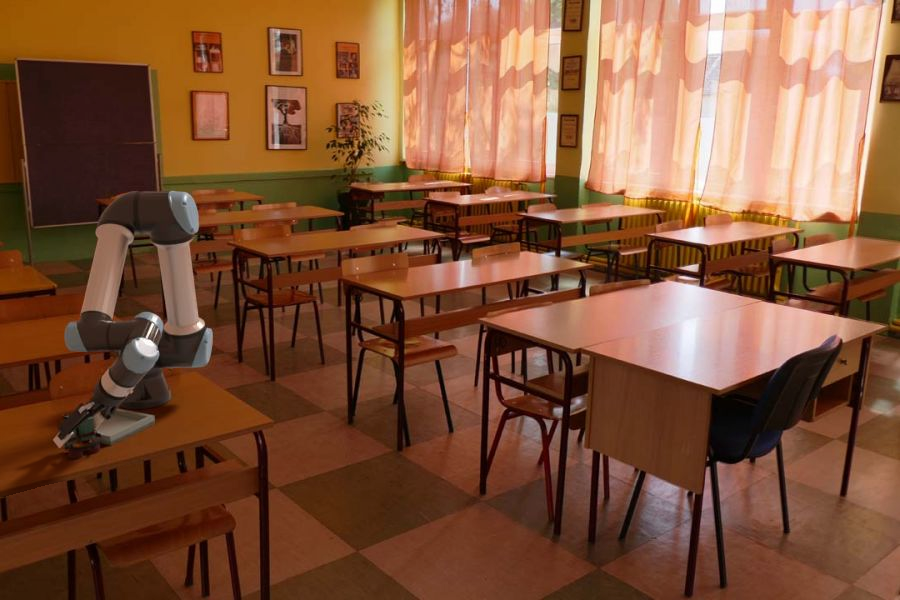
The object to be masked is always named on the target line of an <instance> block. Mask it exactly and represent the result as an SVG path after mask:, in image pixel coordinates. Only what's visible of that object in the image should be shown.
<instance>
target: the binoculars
mask: <svg viewBox="0 0 900 600" xmlns="http://www.w3.org/2000/svg"><path fill="white" fill-rule="evenodd" d="M70 415H71V414H64V413H63V414H62V415H61V416H62V419H61V420H63V421H64V420H65V419H67V418H68V417H69V416H70ZM95 431H96V430H94V428H93V421H92V417H90V418H88V419H87V420H86V421H85V422H84V423H82V424H81V425H80V426H79V427H78V428H76V429H75V430H74V431H73V434H72V436H71V437H70V438H69V439H68V440H67V442H66V443H65V444H64V445H63V446H62V453H64V454H67V453H68V457H69V458H70V459H80V458H82V457H83V454H84V451H86V452H87V453H88V454H94V453H98V452H99V451H100V450H101V445H100V444H101V443H100V442H101V441H102V436H101V434H100V433H97V431H96V432H95ZM94 437H95V438H97V437H100V439H99V440H98V441H96V442H93V441H90V439H92V438H94ZM78 441H79V443H80V446H74V445H75V444H77V442H78Z"/></svg>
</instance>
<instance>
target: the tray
mask: <svg viewBox="0 0 900 600" xmlns="http://www.w3.org/2000/svg"><path fill="white" fill-rule="evenodd" d="M110 416H111V418H110V419H109V420H107V419H106V418H104V421H103V422H102V423H101V424H100V425H99V426H98V428H97V429H96V431H97V433H100V434H101V436H102V441H101V442H100V443H99V444H103V445H107V446H113V445H115V444H117V443H119V442H122V441H123V440H125V439H127V438H130V437H132V436H134V435H135V434H137V433H139V432H142V431H143V430H145V429H146V430H147V428H150V427H152V426H154V425H156V418H155V416H156V415H153V414H148V413H144V412H138V411H133V410H129V409H127V410H126V409H123V408H122V409H121V408H118V409H117V410H116V412H115V413H114V414H111V413H110ZM96 431H95V432H96ZM99 439H100V437H97V438H95V437H94V438H92V439H90V441H91V442H96V441H98V440H99Z"/></svg>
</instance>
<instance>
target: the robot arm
mask: <svg viewBox="0 0 900 600" xmlns="http://www.w3.org/2000/svg"><path fill="white" fill-rule="evenodd" d="M199 216H200V215H199V211H198V207H197V204H196V201H195V199H194V198H193V197H192V195H191V194H190V193H188V192H186V191H176V190H161V191H159V190H154V191H153V190H152V191H151V190H150V191H140V190H133V191H129V192H125V193H123V194H121V195H120V196H118V197H116V198H115V199H114V200H112V202H111V203H109V205H108V206H107V207H106V208H105V209H104V211H103V212H102V213H101V215H100V217H99V218H98V219H99V220H98V221H97V224H96V229H95V236H96V237H97V242H96V247H95V251H94V256H93V261H92V264H91V268H90V273H89V278H88V280H87V284H86V288H85V289H86V290H85V294H84V299H83V303H82V307H81V310H80V314H79V318H78V320H75V321H69V323H67V325H66V326H65V330H64V342H65V346H66V347H67V349H68V350H70V351H71V352H83V353H89V352H118V357H117V358H116V359H115V360H114V362H113V363H112V364H111V365H110V366H109V367H108V368H107V370H106V371H105V372H104V374H103V375H102V376H101V378H100V379H99V380H98V381H97V382H96V384H95V385H94V386H93V396H92V397H91V398H90V399H89V400H88V401H87V402H86V403H85V404H84V403H79V404H78V406H77V407H76V408H75V410H73V411H72V412H71V413H70V414H69V415H70V416H69V417H68V418H67V419H65V420H63V421H62V422H61V423H60V425H58V426H57V427H56V428H57V430H58V431H59V432H58V433H57V434H56V435H55V437H54V438H53V440H52V441H53V442H54V443H55V445H56V446H57V447H58V448H59V449H60V448H63V447H64V446H63V445H64V444H65V443H66V442H67V440H68V439H69V438H70V437H71V436H72V434H73V431H74V430H75V429H76V428H78V427H79V426H80V425H81V424H82V423H84V422H85V421H86V420H87V419H88V418H90V417H92V421H93V428H94V430H96V429H97V428H98V426H99V425H100V424H101V423H102V422H103V421H104V418H106V419H107V420H109V419H110V418H111V416H110V413H111V414H114V413H115V412H116V410H117V409H119V407H120V408H122V409H125V410H126V409H127V410H143V409H144V410H145V409H151V408H155V407H159V406H162V405H164V404H167V403H168V402H169V401H170V400H171V399H172V395H171V394H172V393H171V389H170V387H169V385H168V383H167V381H166V377H165V375H164V373H163V372H164V371H163V369H171V368H172V369H173V368H174V369H177V368H178V369H179V368H183V369H185V368H188V369H189V368H191V369H195V368H204V367H205V366H207V365H208V363H209V361H210V358H211V354H212V348H213V337H214V336H213V334H214V333H213V330H212V328H209V327H206V323H205V320H204V319H202V318H201V317H199V311H198V304H197V296H196V289H195V288H196V287H195V277H194V272H193V263H192V255H191V247H190V243H191V242H192V241H193V240H194V237H195V234H196V233H198V231H199V229H200V228H199V227H200V221H199V219H200V218H199ZM138 234H139V235H141V234H143V235H146V234H147V235H149V239H150V242H151V244H153V245H154V246H155V247H156V248H157V255H158V261H159V269H160V275H161V280H162V281H161V282H162V288H163V296H164V301H165V309H166V316H167V321H166V323H165V324H164V322H163V320H162V318H161V317H160V316H159V315H157V314H155V313H153V312H150V311H142V312H140V313H137V314H136V315H135V316H134V317H133V319H132V320H113V318H114V312H115V308H116V304H117V298H118V295H119V290H120V286H121V280H122V275H123V273H124V272H123V271H124V265H125V262H126V257H127V253H128V248H129V245H131V244H132V243H133V242H134V239H135V236H136V235H138Z"/></svg>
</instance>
